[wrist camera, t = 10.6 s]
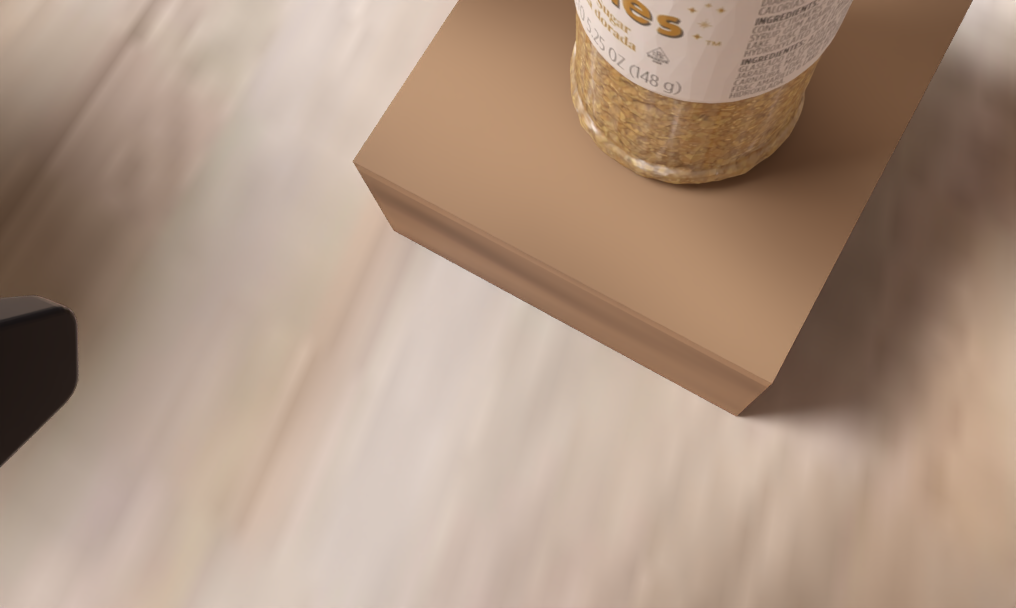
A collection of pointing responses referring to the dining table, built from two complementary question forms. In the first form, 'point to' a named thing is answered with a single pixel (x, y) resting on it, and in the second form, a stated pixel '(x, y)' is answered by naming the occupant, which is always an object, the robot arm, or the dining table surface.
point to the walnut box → (644, 189)
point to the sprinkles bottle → (696, 80)
